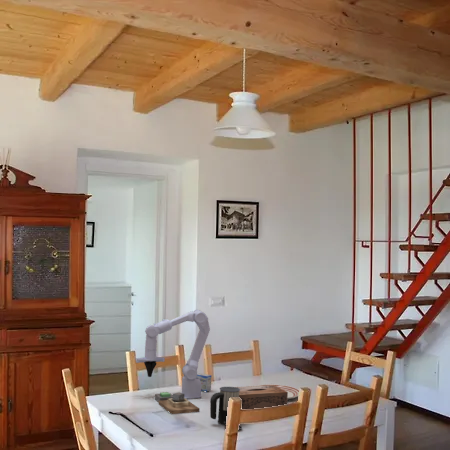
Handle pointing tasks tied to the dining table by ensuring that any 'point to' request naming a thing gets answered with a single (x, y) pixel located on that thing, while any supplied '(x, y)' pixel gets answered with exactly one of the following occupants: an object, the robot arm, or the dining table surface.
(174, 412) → the brown wooden base
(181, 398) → the block
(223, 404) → the milk frother
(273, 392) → the tissue box cover
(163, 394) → the button
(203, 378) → the medicine box
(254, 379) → the dining table surface
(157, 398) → the button housing
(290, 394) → the dinner plate
